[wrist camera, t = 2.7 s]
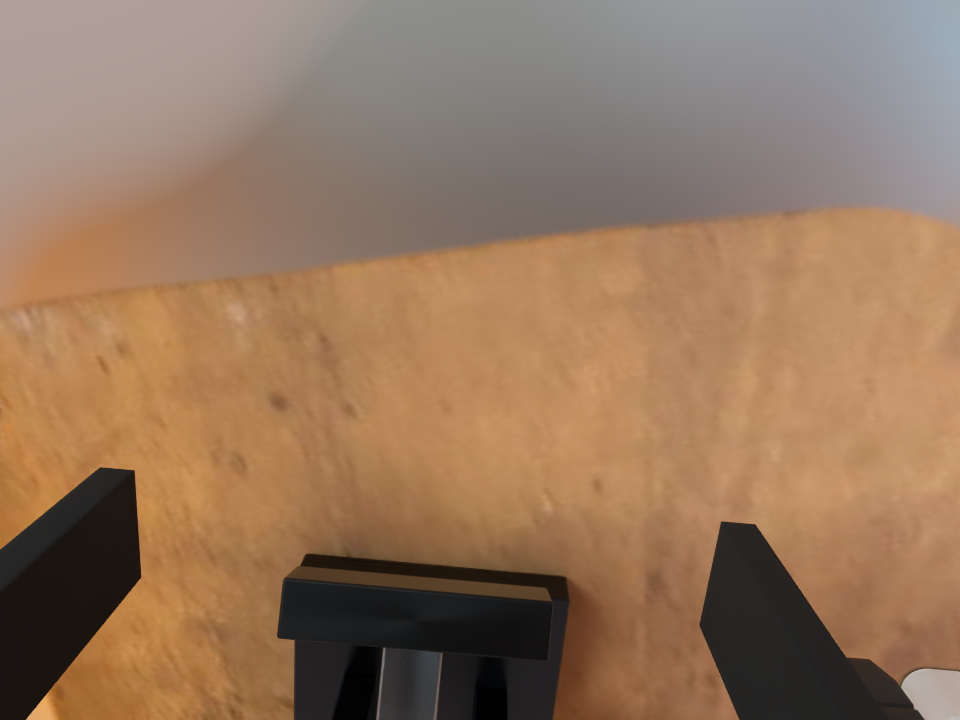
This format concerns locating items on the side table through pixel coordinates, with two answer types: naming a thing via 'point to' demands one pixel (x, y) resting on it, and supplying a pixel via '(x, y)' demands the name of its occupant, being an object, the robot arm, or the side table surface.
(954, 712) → the cable organizer
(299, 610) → the press lever
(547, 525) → the side table surface
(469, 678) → the lever bracket
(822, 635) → the robot arm
